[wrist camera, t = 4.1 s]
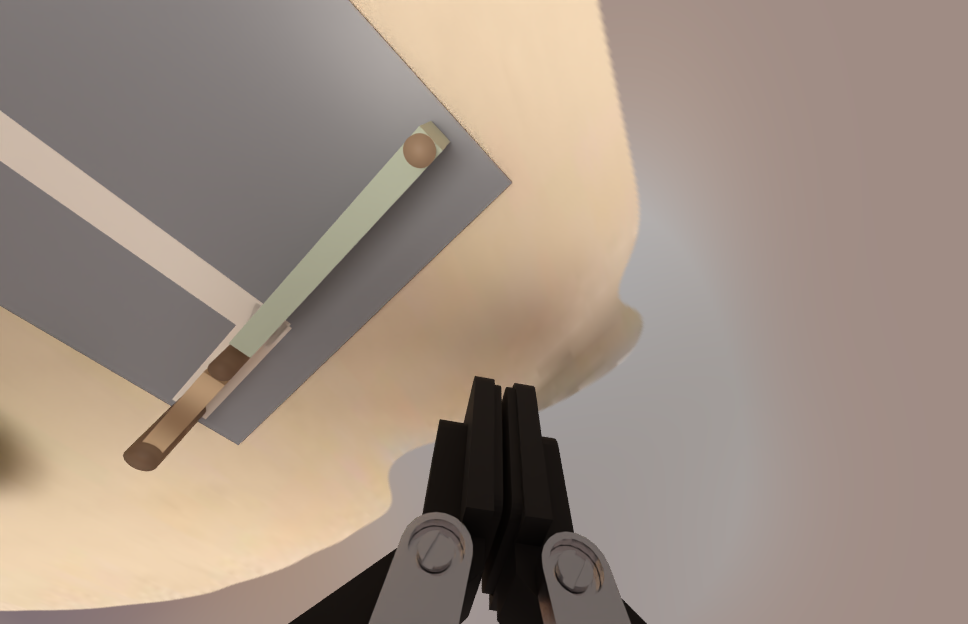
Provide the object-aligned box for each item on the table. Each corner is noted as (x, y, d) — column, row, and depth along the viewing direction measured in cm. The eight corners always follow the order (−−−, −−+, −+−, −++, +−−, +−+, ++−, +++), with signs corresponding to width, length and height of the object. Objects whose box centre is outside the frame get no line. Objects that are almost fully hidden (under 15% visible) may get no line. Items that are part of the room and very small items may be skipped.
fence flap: (282, 322, 23) (246, 362, 20) (264, 309, 23) (224, 347, 19) (450, 141, 19) (441, 152, 15) (431, 120, 18) (417, 126, 15)
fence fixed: (200, 417, 28) (148, 475, 23) (176, 402, 27) (117, 459, 23) (286, 326, 24) (243, 375, 20) (259, 307, 23) (209, 353, 19)
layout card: (240, 441, 29) (238, 445, 28) (-132, 222, 21) (-141, 223, 21) (511, 181, 20) (511, 182, 20) (42, -343, 13) (32, -353, 12)
